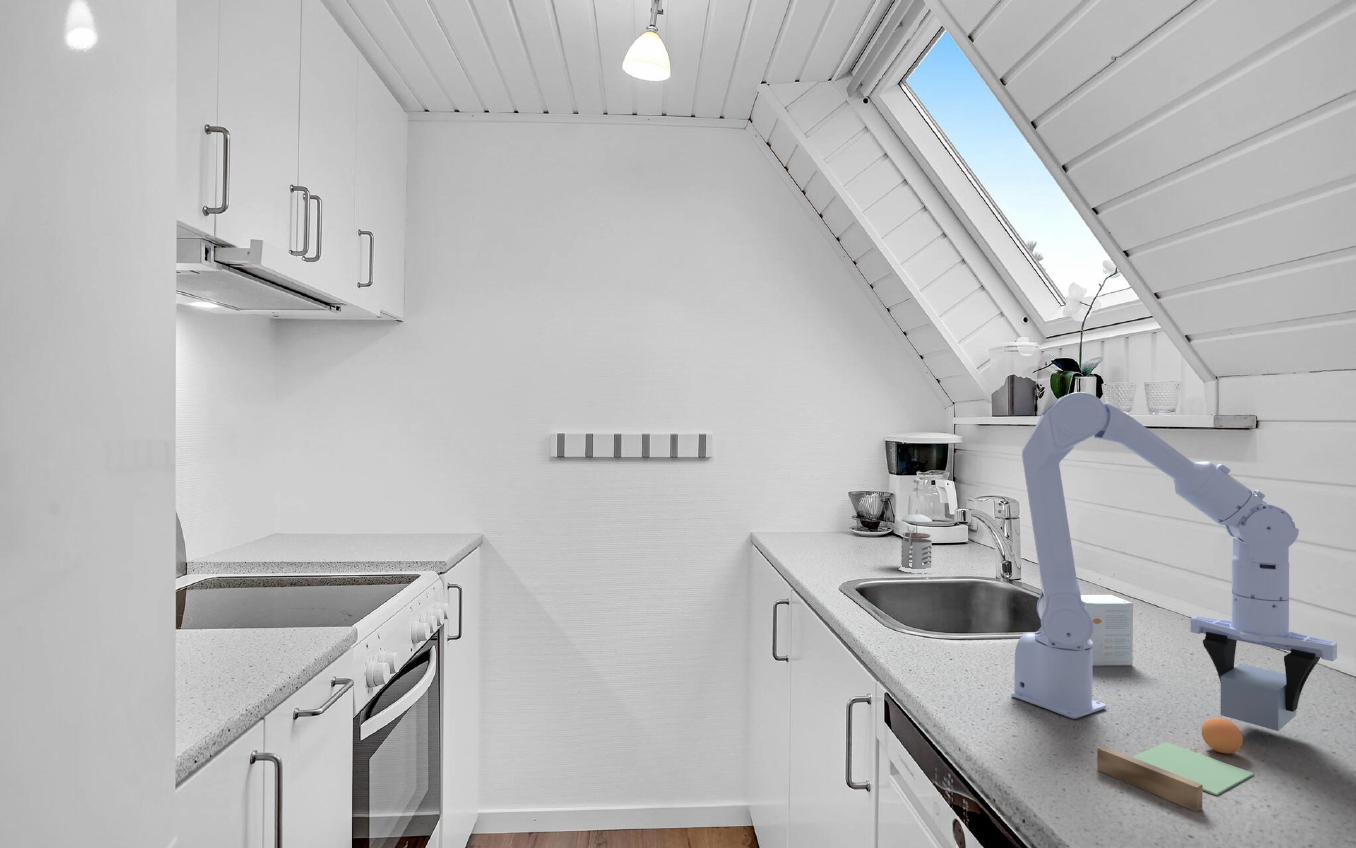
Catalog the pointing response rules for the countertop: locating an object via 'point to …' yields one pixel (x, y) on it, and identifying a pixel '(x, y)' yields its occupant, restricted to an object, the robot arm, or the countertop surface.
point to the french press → (916, 542)
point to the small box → (1110, 629)
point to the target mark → (1195, 767)
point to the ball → (1222, 735)
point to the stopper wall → (1150, 778)
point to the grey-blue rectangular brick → (1255, 697)
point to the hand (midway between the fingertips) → (1259, 701)
